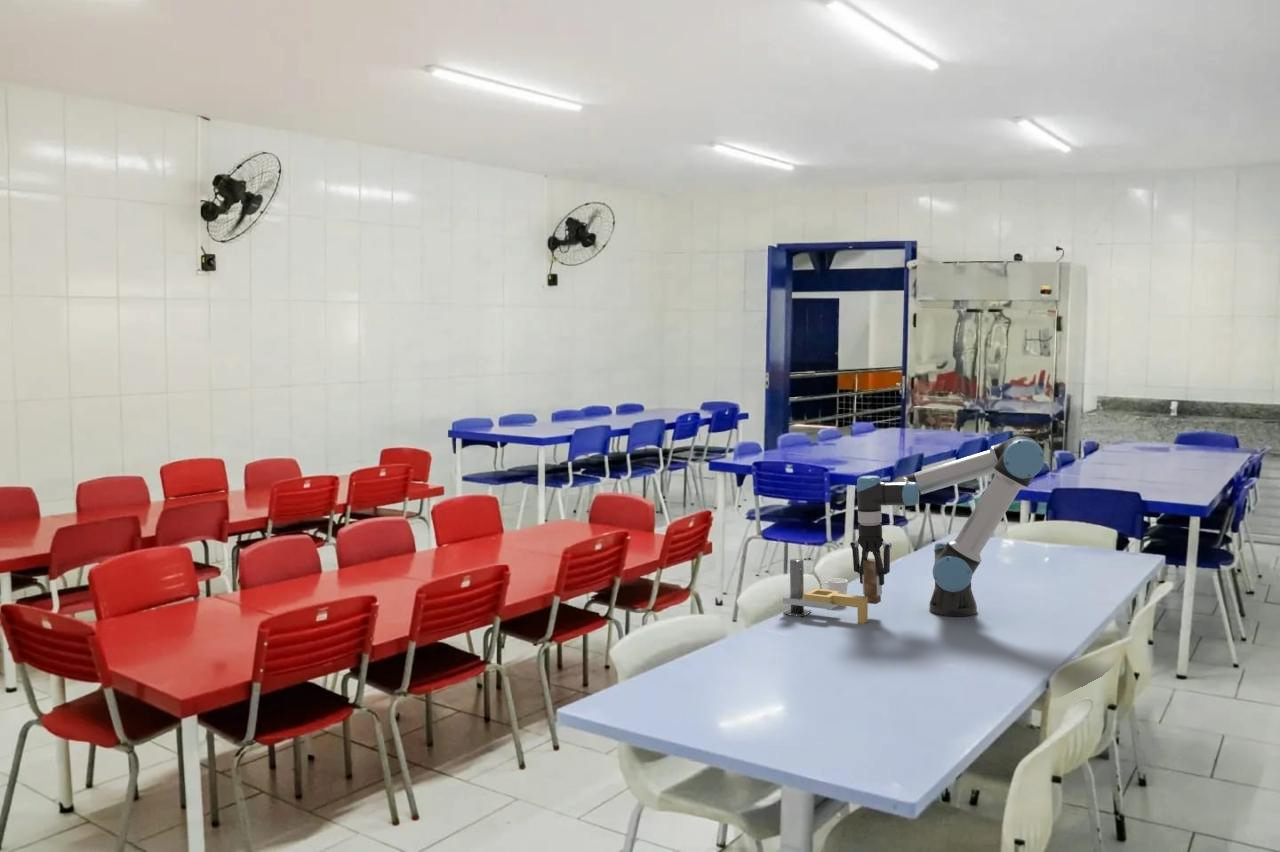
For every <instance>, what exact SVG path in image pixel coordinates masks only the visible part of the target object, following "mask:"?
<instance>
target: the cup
mask: <svg viewBox="0 0 1280 852" xmlns="http://www.w3.org/2000/svg"><path fill="white" fill-rule="evenodd" d="M848 584H849V580H848V579H846V578H840V577H838V578H837V577H836V578H835V577H834V578H830V579H827V582H825V581H824V582H822V583H821V584H820V586H819V589H821V588H822V586H823V585H828V590H832V591H840V594H847V593H848Z"/></svg>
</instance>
